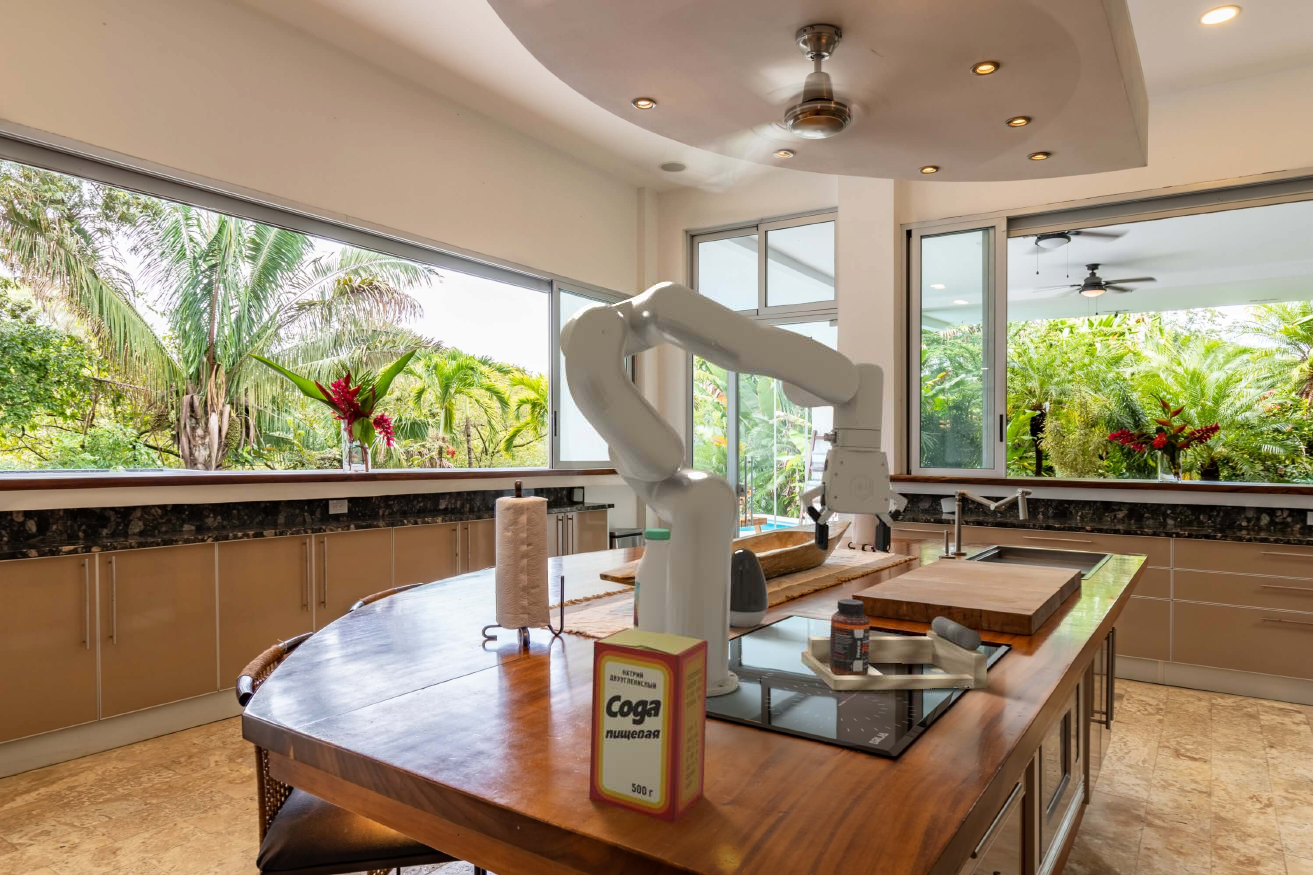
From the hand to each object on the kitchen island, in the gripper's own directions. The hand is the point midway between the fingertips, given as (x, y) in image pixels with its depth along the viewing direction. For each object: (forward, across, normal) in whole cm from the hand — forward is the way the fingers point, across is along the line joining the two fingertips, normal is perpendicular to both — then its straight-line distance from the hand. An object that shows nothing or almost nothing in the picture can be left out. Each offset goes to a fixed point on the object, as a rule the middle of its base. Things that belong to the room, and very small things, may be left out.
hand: (851, 549), depth 120 cm
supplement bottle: (+20, 0, 0) cm, 20 cm away
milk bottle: (+20, -28, +21) cm, 40 cm away
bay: (+20, +7, 0) cm, 21 cm away
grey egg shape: (+20, -9, +33) cm, 40 cm away
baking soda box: (+21, -36, -39) cm, 57 cm away
